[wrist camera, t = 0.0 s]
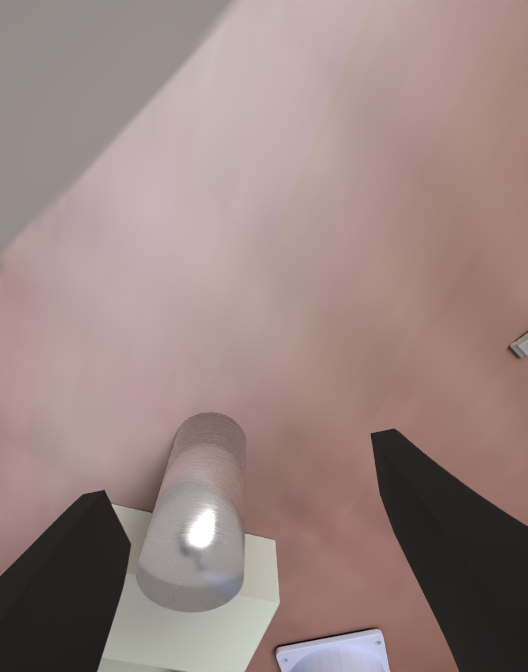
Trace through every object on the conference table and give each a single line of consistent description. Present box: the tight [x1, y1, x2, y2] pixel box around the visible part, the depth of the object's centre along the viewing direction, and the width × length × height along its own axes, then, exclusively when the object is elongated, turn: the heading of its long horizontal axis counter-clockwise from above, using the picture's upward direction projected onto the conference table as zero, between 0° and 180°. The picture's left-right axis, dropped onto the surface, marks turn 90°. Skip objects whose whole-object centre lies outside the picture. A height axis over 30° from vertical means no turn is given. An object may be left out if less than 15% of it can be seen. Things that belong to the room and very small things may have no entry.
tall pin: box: [136, 413, 246, 613], centre depth 18 cm, size 4×4×8 cm
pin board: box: [97, 504, 280, 672], centre depth 25 cm, size 20×12×4 cm, turn 161°
